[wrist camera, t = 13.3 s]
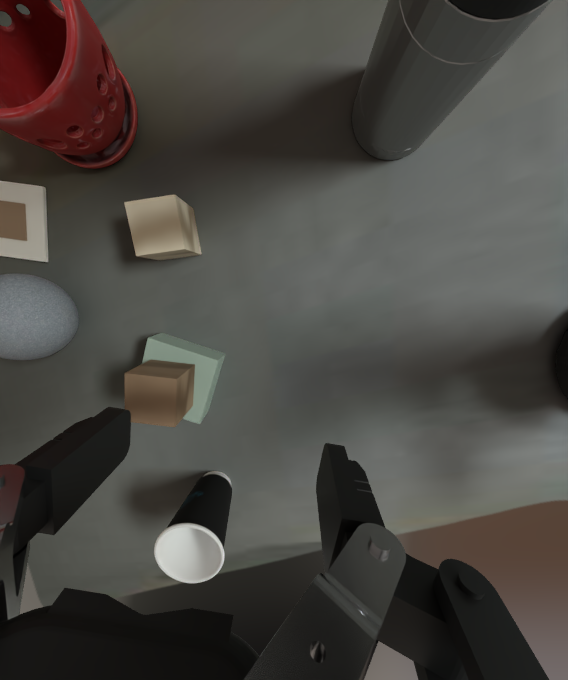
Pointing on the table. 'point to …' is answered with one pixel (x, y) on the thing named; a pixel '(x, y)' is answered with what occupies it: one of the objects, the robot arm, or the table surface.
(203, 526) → the dixie cup
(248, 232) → the table surface
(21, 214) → the card
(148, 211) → the birch block
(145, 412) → the walnut block
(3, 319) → the decorative stone
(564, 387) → the candelabra
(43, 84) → the plant pot
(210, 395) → the sage green base block
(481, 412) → the table surface
